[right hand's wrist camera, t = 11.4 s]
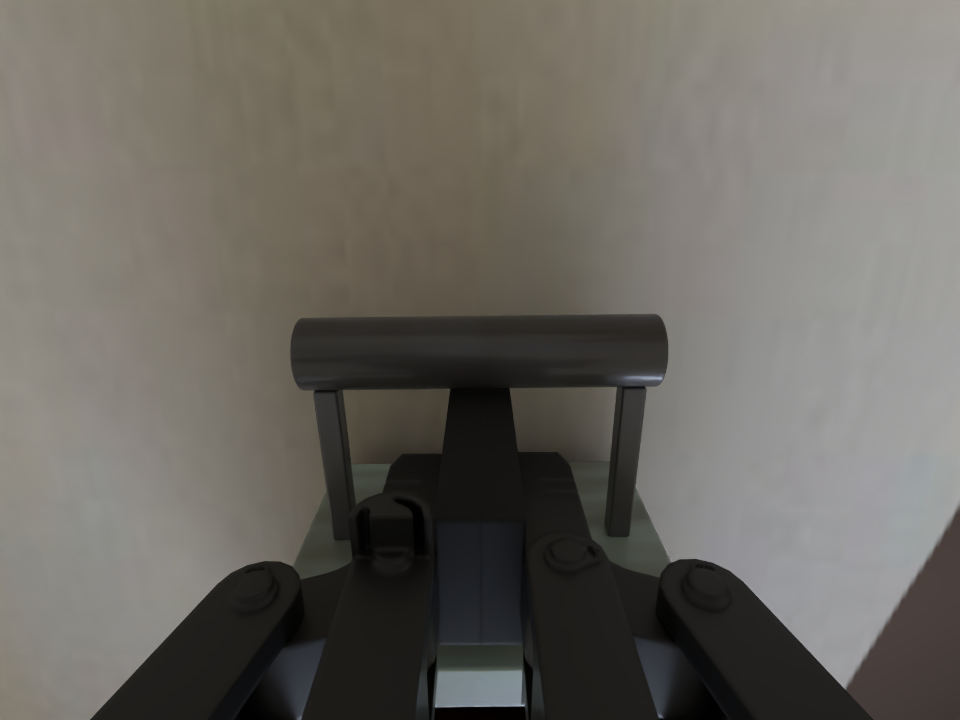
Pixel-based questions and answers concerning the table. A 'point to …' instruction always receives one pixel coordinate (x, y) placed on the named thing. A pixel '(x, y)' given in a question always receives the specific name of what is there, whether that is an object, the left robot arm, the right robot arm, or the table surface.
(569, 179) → the table surface
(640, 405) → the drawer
